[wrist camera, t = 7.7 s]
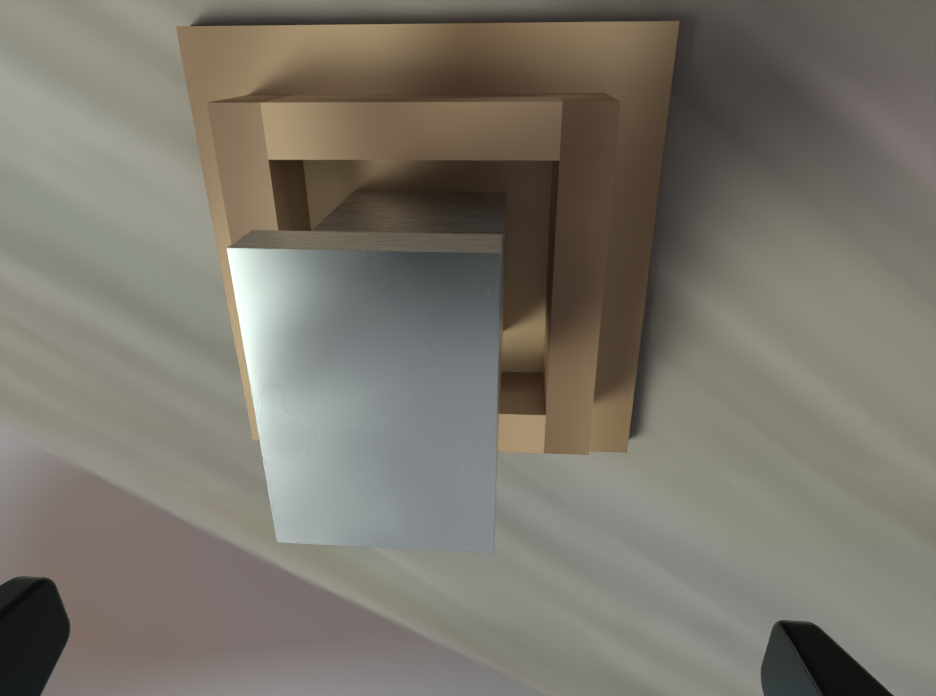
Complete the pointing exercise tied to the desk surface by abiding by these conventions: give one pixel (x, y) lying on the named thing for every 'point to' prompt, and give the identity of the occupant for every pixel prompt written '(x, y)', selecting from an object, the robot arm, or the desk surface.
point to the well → (464, 176)
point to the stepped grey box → (379, 368)
